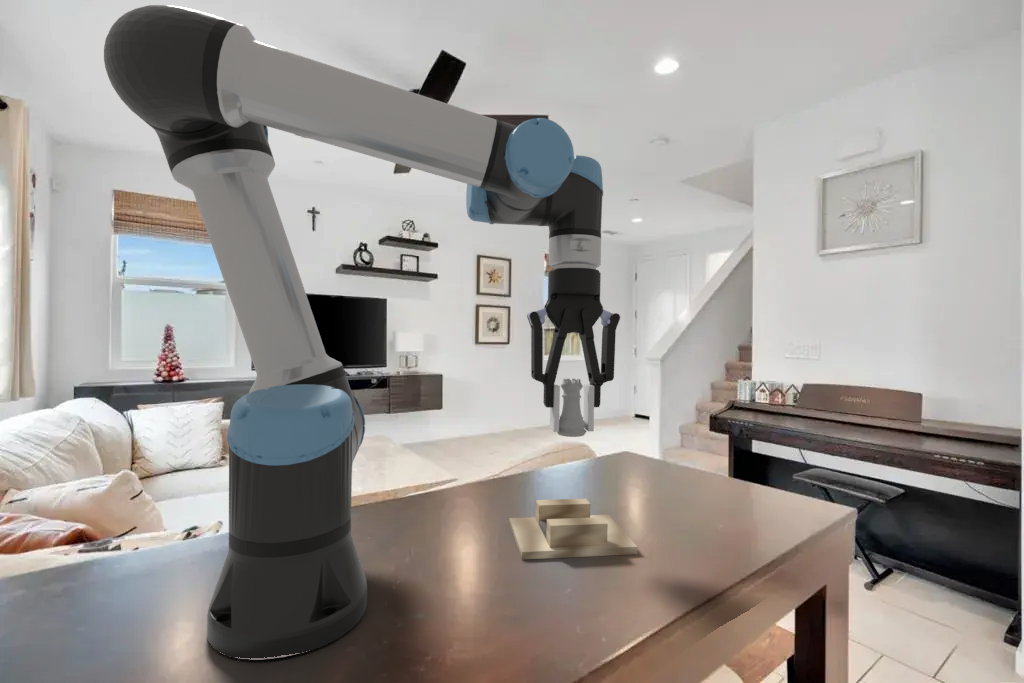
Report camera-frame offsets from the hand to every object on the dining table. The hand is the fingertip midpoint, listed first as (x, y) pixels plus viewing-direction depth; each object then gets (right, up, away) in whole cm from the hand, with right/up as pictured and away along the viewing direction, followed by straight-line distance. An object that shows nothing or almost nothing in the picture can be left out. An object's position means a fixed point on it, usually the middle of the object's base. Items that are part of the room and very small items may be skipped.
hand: (571, 429), depth 72 cm
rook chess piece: (0, -1, 0) cm, 1 cm away
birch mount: (0, -16, 0) cm, 16 cm away
